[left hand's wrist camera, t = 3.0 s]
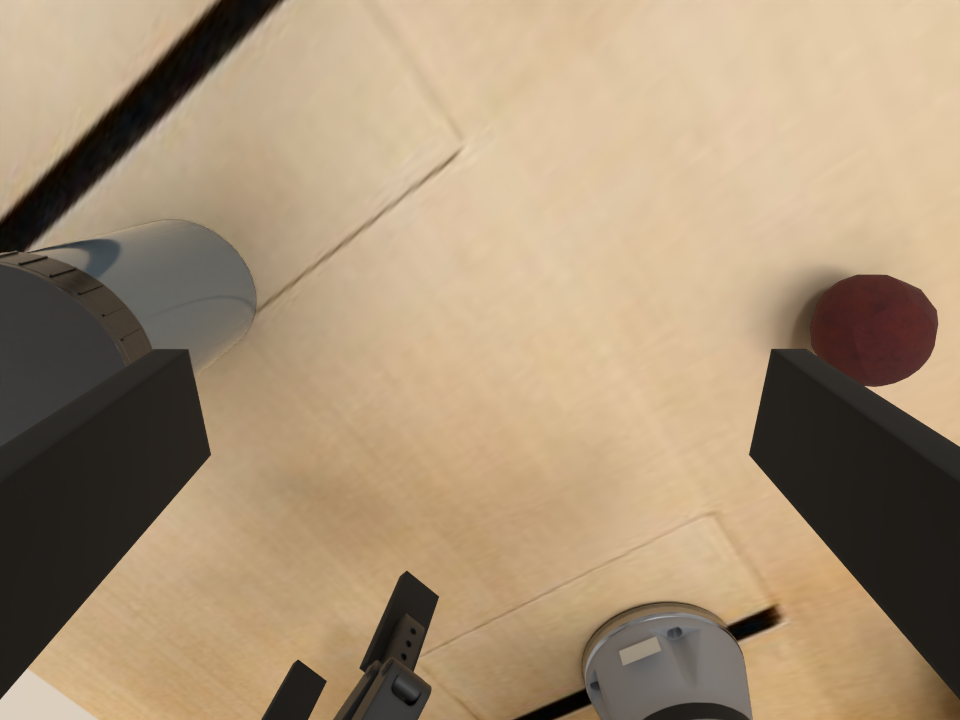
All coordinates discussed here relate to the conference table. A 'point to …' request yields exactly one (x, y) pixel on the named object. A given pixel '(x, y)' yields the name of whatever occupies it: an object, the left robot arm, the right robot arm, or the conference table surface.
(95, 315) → the lid
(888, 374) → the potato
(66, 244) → the jar
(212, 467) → the conference table surface
